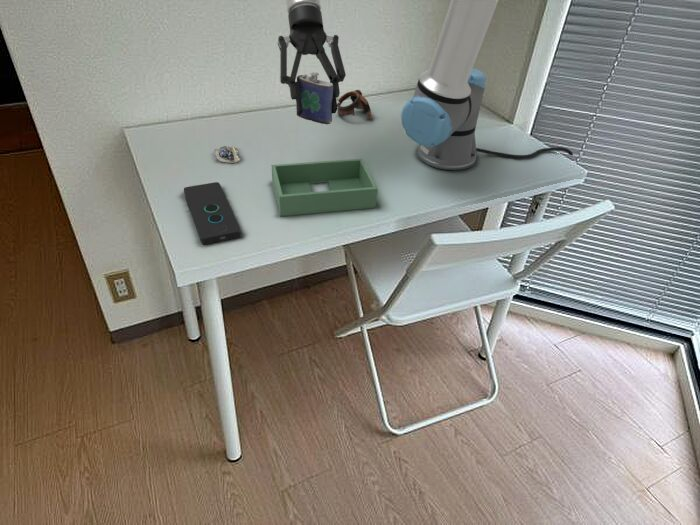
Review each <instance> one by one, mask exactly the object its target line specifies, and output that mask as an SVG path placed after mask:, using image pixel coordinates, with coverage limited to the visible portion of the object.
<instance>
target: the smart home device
mask: <svg viewBox="0 0 700 525" xmlns="http://www.w3.org/2000/svg"><path fill="white" fill-rule="evenodd" d="M183 194H184V198H185V201H186V202H185V203H186V205H187V207H188V210H189V212H190V215H191V218H192V221H193V224H194V227H195V229H196V232H197V235H198V238H199V241H200V243H201V244H202V245H204V246H205V245H209V244H214V243H219V242H225V241H230V240H234V239H239V238H241V237H242V236H241V227H240V225H239V223H238V220H237V219H236V216H235V214H234V212H233V210H232V208H231V206H230V203H229V201H228V198H227V196H226V193H225V191H224V190H223V187H222V186H221V184H220V182H217V181H215V182H209V183H202V184H197V185H190V186H185V187H184V188H183Z"/></svg>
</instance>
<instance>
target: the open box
mask: <svg viewBox="0 0 700 525" xmlns="http://www.w3.org/2000/svg"><path fill="white" fill-rule="evenodd" d="M372 176H373V175H371V173H370V171H369V169H368V167H367V165H366V164H365V161H364V159H363V158H352V159H351V158H350V159H335V160H322V161H321V160H320V161H308V162H293V163H281V164H271V185H272V189H273V192H274V196H275V201H276V205H277V209H278V213H279V216H280V217H287V216H298V215H309V214H320V213H331V212H343V211H351V210H354V211H355V210H364V209H365V210H366V209H373V208H377V202H378V191H379V188H378V186H377V184H376V182H375V180H374V178H373V177H372ZM314 184H315V185H316V184H328V187H329V189H330V190H322V191H312V188H311V185H314Z"/></svg>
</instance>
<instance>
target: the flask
mask: <svg viewBox="0 0 700 525" xmlns="http://www.w3.org/2000/svg"><path fill="white" fill-rule="evenodd" d="M309 75H310V76H309ZM309 75H307V74H306V73H305V74H300V75H299V74H298V75H296V82H299V86H300V93H301V101H302V109H303V111H302V114H301V115H298V112H297V111H296V116H297V117H299V118H301V119H304V120H306V121H310V122H314V123H317V124H322V125H330V124H331V123H332V121H333V113H332V100H333V84H332V83H330V81H324V80H320V79H318V76H319V75H320V74H319V72H317V71H311V72H310V73H309Z"/></svg>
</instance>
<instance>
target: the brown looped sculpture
mask: <svg viewBox="0 0 700 525" xmlns="http://www.w3.org/2000/svg"><path fill="white" fill-rule="evenodd" d="M349 98H350V100H351V102H352V103H350V104H347V105H345V106H341V105H342V104H343V103H344V102H345V101H347V99H349ZM337 108H338V109H337V115H338V116H350V115H352V116H355V109H356V110H362V113H364V114H365V113H366V114H367V118H368V120H369V121H370V120H372V110H371V105H370V104H369V101H368V100H367V98H366V97H365V96H363V92H362V91H361V89H356V90H351V91H348V92H345V93H343V95H341V96H339V97H338V100H337Z"/></svg>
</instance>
